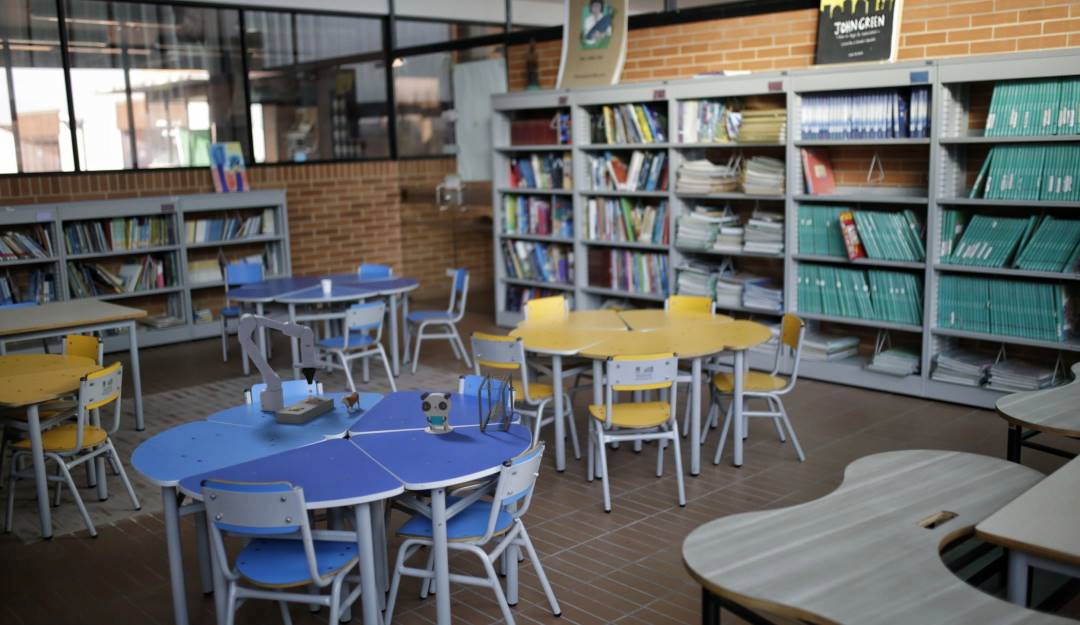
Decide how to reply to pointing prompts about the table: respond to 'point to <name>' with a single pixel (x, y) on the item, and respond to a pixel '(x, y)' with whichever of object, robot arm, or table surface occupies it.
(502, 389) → the newton's cradle
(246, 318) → the robot arm
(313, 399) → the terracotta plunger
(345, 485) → the table surface
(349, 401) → the bull figurine
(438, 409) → the panda figurine
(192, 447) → the table surface
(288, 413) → the block
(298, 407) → the birch plunger
